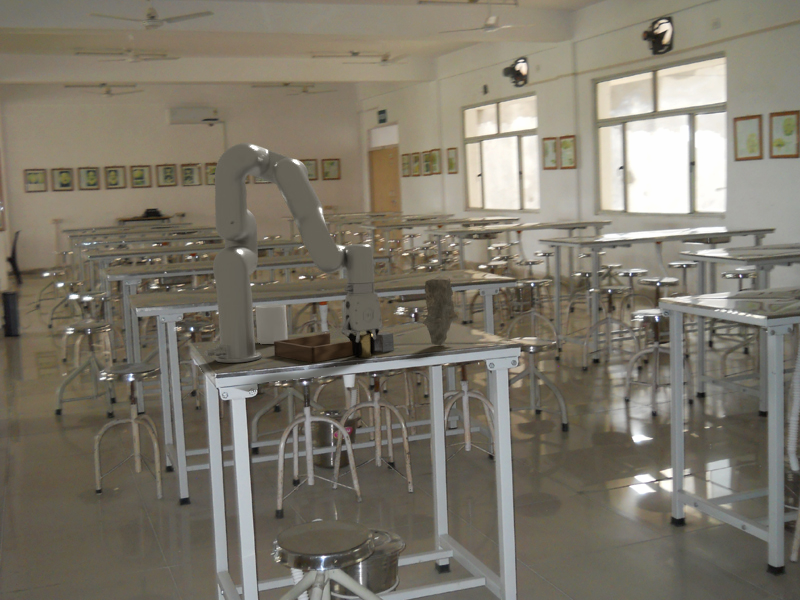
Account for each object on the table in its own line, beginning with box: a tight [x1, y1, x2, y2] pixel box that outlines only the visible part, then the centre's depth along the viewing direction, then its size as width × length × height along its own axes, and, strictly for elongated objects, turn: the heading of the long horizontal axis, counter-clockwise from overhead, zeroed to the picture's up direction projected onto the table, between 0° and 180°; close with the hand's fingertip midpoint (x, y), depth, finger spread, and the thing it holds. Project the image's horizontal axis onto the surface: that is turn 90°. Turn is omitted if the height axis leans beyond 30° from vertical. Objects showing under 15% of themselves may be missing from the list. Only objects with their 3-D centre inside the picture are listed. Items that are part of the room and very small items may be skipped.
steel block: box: [374, 331, 395, 353], centre depth 233 cm, size 4×4×5 cm
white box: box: [255, 303, 288, 345], centre depth 257 cm, size 10×12×12 cm
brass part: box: [356, 332, 372, 358], centre depth 226 cm, size 4×4×6 cm
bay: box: [273, 332, 353, 363], centre depth 232 cm, size 19×18×4 cm
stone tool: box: [422, 276, 459, 346], centre depth 238 cm, size 12×6×20 cm, turn 118°
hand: (363, 354), depth 226 cm, fingers closed on brass part, 4 cm apart
